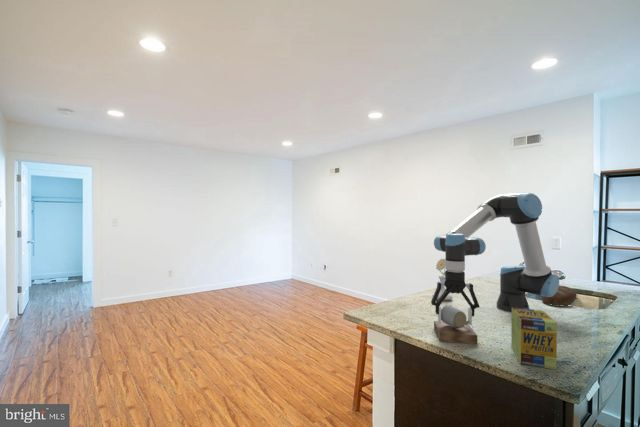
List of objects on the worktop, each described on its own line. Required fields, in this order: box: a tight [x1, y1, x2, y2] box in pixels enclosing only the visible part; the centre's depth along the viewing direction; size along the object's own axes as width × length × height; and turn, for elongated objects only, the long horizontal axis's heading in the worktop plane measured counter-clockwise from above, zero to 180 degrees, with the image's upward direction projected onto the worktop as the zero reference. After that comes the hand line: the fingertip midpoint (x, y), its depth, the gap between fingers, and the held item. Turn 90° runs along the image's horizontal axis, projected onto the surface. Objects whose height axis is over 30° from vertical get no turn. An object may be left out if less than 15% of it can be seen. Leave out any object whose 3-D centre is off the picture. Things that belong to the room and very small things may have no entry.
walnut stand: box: [433, 320, 478, 345], centre depth 132 cm, size 14×14×4 cm
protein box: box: [510, 307, 558, 370], centre depth 112 cm, size 10×15×16 cm
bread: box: [540, 285, 578, 307], centre depth 189 cm, size 16×36×8 cm, turn 134°
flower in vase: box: [432, 258, 453, 301], centre depth 188 cm, size 13×11×25 cm
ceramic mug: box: [441, 304, 469, 328], centre depth 132 cm, size 11×8×8 cm
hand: (454, 322), depth 132 cm, fingers closed on ceramic mug, 11 cm apart
